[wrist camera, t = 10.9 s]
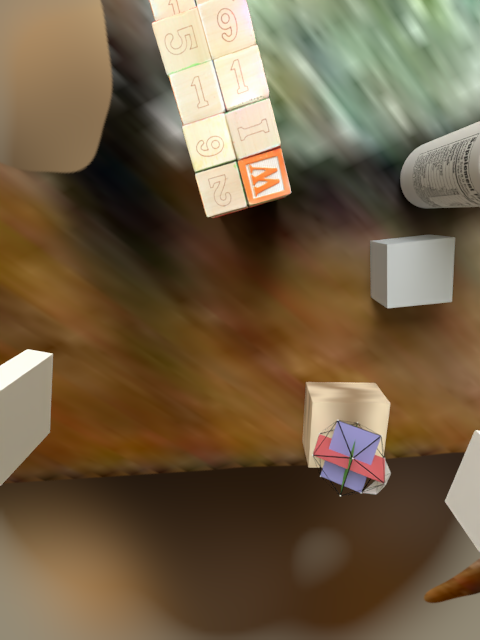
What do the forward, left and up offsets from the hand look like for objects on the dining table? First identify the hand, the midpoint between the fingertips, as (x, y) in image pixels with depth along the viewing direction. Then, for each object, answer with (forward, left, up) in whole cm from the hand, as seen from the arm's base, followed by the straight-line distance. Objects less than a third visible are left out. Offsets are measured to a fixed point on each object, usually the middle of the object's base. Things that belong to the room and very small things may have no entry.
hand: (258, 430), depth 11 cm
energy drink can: (+15, +13, -29) cm, 35 cm away
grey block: (+15, +4, -29) cm, 33 cm away
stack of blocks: (-6, +16, -29) cm, 34 cm away
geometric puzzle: (+12, -14, -24) cm, 31 cm away
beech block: (+13, -14, -29) cm, 35 cm away
